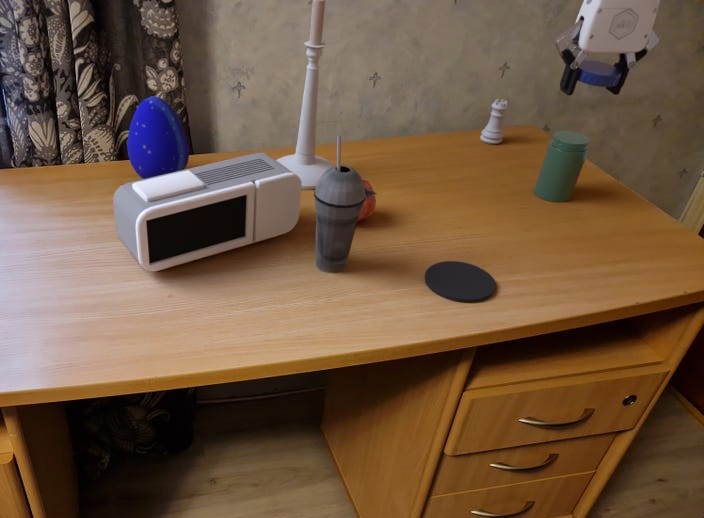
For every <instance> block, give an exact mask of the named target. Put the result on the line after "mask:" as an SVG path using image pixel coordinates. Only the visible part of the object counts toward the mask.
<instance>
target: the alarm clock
mask: <svg viewBox="0 0 704 518" xmlns="http://www.w3.org/2000/svg"><path fill="white" fill-rule="evenodd" d="M276 160H277V159H274V158H273V157H272V156H271V155H269V154H268V153H266V152H264V151H263V152H254V153H250V154H246V155H242V156H241V155H240V156H238V157H233V158H229V159H225V160H220V161H216V162H211V163H208V164H203V165H199V166H194V167H190V168H185V169H184V170H181V171H177V172H173V173H168V174H164V175H160V176H156V177H151V178H147V179H143V178H142V179H139V180H135V181H129V182H126V183H124V184H122V185H120V186H119V187H118V188H117V189H116V190H115V192H114V194H113V195H112V196H113V198H112V205H113V215H114V224H115V232H116V236H117V239H118V240H119V241H120V242H121V244H122V245H123V246H124V247H125V248H126V250H127V251H128V252H129V253H130V254H131V256H132V257H133V258H134V259H135V260H136V261H137V262H138V264H139V265H140V267H142V268H143V269H144V270H145V271H148V272H158V271H162V270H167V269H169V268H172V267H177V266H180V265H183V264H186V263H190V262H194V261H196V260H200V259H203V258H207V257H210V256H211V257H212V256H214V255H217V254H221V253H225V252H227V251H231V250H234V249H235V250H236V249H237V248H242V247H245V246H248V245H252V244H255V243H258V242H262V241H265V240H269V239H272V238H276V237H279V236H281V235H284V234H286V233H288V232H291V231H292V230H293V229H294V228H295V227H296V225H297V223H298V221H299V218H300V208H301V199H302V189H301V188H302V184H301V179H300V178H299V176H297V175H296V174H294V173H293V172H292V171H290V170H289V169H287V168H286V167H284V166H283V165H282V164H280V163H279V162H277V161H276Z"/></svg>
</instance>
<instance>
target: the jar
mask: <svg viewBox="0 0 704 518" xmlns="http://www.w3.org/2000/svg"><path fill="white" fill-rule="evenodd" d="M590 140H591V139H590V138H589V136H587V135H585V134H584V133H580V132H577V131H571V130H560V131H556V132H555V133H554V134H553V136H552V138H551V139H550V140H549V142H548V144H547V148H546V151H545V154H544V156H543V160H542V162H541V166H540V169H539V171H538V175H537V178H536V181H535V183H534V186H533V188H532V189H533V190H532V192H533V194H534V195H535V196H536V197H538V198H540V199H541V200H544V201H547V202H553V203H554V202H555V203H564V202H567V201H570V200H571V198H572V196H573V193H574V191H575V188H576V186H577V182H578V180H579V177H580V174H581V171H582V170H583V167H584V164H585V161H586V160H587V156H588V154H589V150H590V147H589V145H590V143H591V142H590Z"/></svg>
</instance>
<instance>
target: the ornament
mask: <svg viewBox="0 0 704 518" xmlns="http://www.w3.org/2000/svg"><path fill="white" fill-rule="evenodd" d="M126 147H127V154H128V159H129V163H130V164H131V166H132V168H133V170H134V171H135V173H136V174H137V175H138V176H139V177H140V178H141V179H142V180H143V179H147V178H151V177H156V176H160V175H164V174H168V173H173V172H177V171H181V170H185V169H186V167H187V165H188V163H189V158H190V148H189V143H188V139H187V136H186V133H185V130H184V128H183V125H182V122H181V121H180V119H179V117H178V115H177V114H176V112H175V111H174V109H173V108H172V107H171V106H170V105H169V103H168V102H167V101H166V100H164V99H163V98H161V97H159V96H156V95H154V96H153V95H151V96H149V97H147V98H144V100H142V101H141V102H140V103H139V104H138V106H137V108H136V110H135V111H134V114H133V116H132V119H131V122H130V125H129V130H128V134H127V145H126Z"/></svg>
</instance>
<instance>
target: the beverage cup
mask: <svg viewBox="0 0 704 518" xmlns="http://www.w3.org/2000/svg"><path fill="white" fill-rule="evenodd" d="M336 148H337V149H336V165H334V166H335V167H332V168H330V169H329V170H327V171H326V172H325V173H324V174H323V175H322V176H321V178H320V179H319V181H318V183H317V185H316V189H314V191H313V197H314V206H315V216H316V217H315V266H316V268H317V269H318V270H320V271H322V272H323V273H324V272H325V273H329V274H330V273H331V274H332V273H333V274H336V273H340V272H342V271H343V270H345V269H346V266H347V262H348V259H349V256H350V252H351V249H352V244H353V241H354V235H355V232H356V228H357V224H358V222H359V221H358V217H359V213H360V211H361V209H362V206H363V203H364V201H365V199H366V198H365V186H364V182H363V180H364V179H363V177H362V176H361V174H360V173H359V172H358V171H357V170H356V169H354V168H352V167H351V166H348V165H341V162H342V161H341V160H342V159H341V158H342V156H341V155H342V135H341V134H339V133H338V134H336Z"/></svg>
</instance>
